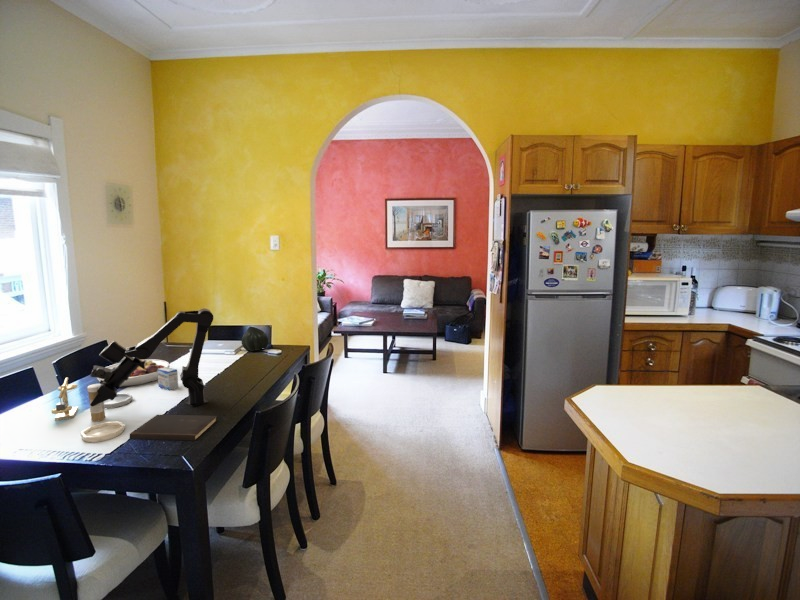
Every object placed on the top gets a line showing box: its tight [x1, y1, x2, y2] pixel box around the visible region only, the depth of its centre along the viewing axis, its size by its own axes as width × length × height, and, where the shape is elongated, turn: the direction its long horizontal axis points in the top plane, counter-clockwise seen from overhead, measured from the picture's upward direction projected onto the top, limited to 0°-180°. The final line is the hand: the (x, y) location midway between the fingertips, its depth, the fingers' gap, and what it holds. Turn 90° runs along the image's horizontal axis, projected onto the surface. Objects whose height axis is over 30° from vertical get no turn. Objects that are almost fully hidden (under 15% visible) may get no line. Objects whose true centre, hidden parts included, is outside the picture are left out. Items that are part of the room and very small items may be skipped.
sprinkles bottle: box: [87, 383, 106, 422], centre depth 161 cm, size 5×5×14 cm
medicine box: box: [157, 367, 179, 391], centre depth 196 cm, size 8×4×9 cm, turn 62°
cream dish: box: [80, 421, 125, 443], centre depth 151 cm, size 12×12×2 cm
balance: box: [51, 377, 79, 422], centre depth 166 cm, size 19×6×13 cm, turn 27°
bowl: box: [96, 358, 170, 388], centre depth 209 cm, size 30×30×8 cm
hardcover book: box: [129, 414, 218, 441], centre depth 155 cm, size 16×23×2 cm
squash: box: [241, 326, 269, 352], centre depth 258 cm, size 14×15×15 cm
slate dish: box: [104, 392, 134, 409], centre depth 178 cm, size 12×12×2 cm
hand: (92, 403), depth 161 cm, fingers closed on sprinkles bottle, 4 cm apart
